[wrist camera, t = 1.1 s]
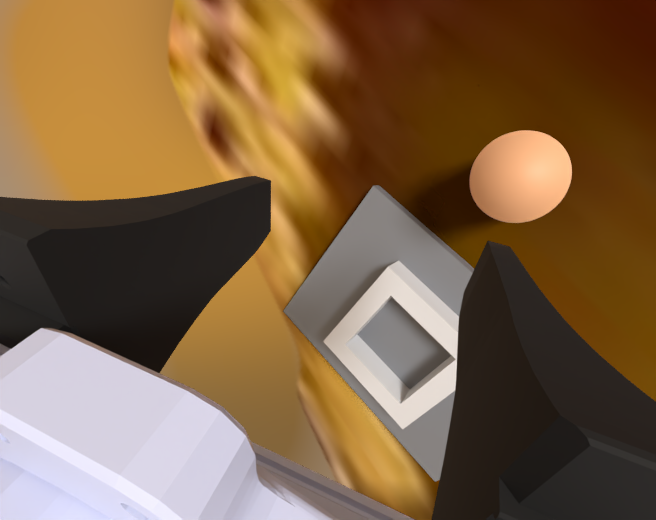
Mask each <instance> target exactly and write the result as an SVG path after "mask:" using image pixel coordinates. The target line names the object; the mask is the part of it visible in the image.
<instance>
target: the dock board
mask: <svg viewBox="0 0 656 520" xmlns="http://www.w3.org/2000/svg"><path fill="white" fill-rule="evenodd" d="M473 271H474V268H473V267H472V266H470V265H469V264H468V263H467V262H466V261H465V260H464V259H462V258H461V257H460V256H459V255H458V254H457V253H456V252H454V251H453V250H452V249H451V248H450V247H449V246H448V245H446V244H445V243H444V242H443V241H442V240H441V239H440V238H438V237H437V236H436V235H435V234H434V233H433V232H432V231H430V230H429V229H428V228H427V227H426V226H425V225H424V224H422V223H421V222H420V221H419V220H418V219H417V218H416V217H414V216H413V215H412V214H411V213H410V212H409V211H408V210H406V209H405V208H404V207H403V206H402V205H401V204H400V203H398V202H397V201H396V200H395V199H394V198H393V197H392V196H390V195H389V194H388V193H387V192H386V191H385V190H384V189H382V188H381V187H380V186H373V187H372V188H371V190H370V191H369V192H368V194H367V195H366V197H365V198H364V199H363V201H362V202H361V204H360V205H359V206H358V208H357V209H356V211H355V212H354V213H353V215H352V216H351V217H350V219H349V220H348V222H347V223H346V224H345V226H344V227H343V229H342V230H341V231H340V233H339V234H338V236H337V237H336V238H335V240H334V241H333V242H332V244H331V245H330V247H329V248H328V249H327V251H326V252H325V254H324V255H323V256H322V258H321V259H320V261H319V262H318V263H317V265H316V266H315V268H314V269H313V270H312V272H311V273H310V274H309V276H308V277H307V279H306V280H305V281H304V283H303V284H302V286H301V287H300V288H299V290H298V291H297V293H296V294H295V295H294V297H293V298H292V300H291V301H290V302H289V304H288V305H287V306H286V308H285V309H284V311H283V312H284V313H285V314H286V315H287V316H288V317H289V318H290V319H291V321H292V322H293V323H294V324H295V325H296V326H297V327H298V328H299V330H300V331H301V332H302V333H303V334H304V335H305V336H306V337H307V339H308V340H309V341H310V342H311V343H312V344H313V345H314V346H315V348H316V349H317V350H318V351H319V352H320V353H321V354H322V355H323V357H324V358H325V359H326V360H327V361H328V362H329V363H330V364H331V365H332V367H333V368H334V369H335V370H336V371H337V372H338V373H339V374H340V376H341V377H342V378H343V379H344V380H345V381H346V382H347V383H348V385H349V386H350V387H351V388H352V389H353V390H354V391H355V392H356V394H357V395H358V396H359V397H360V398H361V399H362V400H363V401H364V402H365V404H366V405H367V406H368V407H369V408H370V409H371V410H372V411H373V413H374V414H375V415H376V416H377V417H378V418H379V419H380V420H381V422H382V423H383V424H384V425H385V426H386V427H387V428H388V429H389V431H390V432H391V433H392V434H393V435H394V436H395V437H396V438H397V440H398V441H399V442H400V443H401V444H402V445H403V446H404V447H405V448H406V450H407V451H408V452H409V453H410V454H411V455H412V456H413V457H414V459H415V460H416V461H417V462H418V463H419V464H420V465H421V466H422V468H423V469H424V470H425V471H426V472H427V473H428V474H429V475H430V477H431V478H432V479H433V480H434V481H435V482H436V481H438V480H439V479H440V476H441V471H442V466H443V461H444V455H445V450H446V444H447V438H448V433H449V427H450V421H451V415H452V409H453V402H454V396H455V387H456V371H457V346H458V325H459V315H460V309H461V304H462V299H463V294H464V291H465V288H466V286H467V284H468V282H469V280H470V278H471V276H472V274H473Z"/></svg>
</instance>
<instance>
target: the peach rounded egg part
mask: <svg viewBox="0 0 656 520" xmlns="http://www.w3.org/2000/svg"><path fill="white" fill-rule="evenodd" d="M571 177H572V166H571V161H570V158H569V156H568V153H567V152H566V150H565V149H564V147H563V146H562V145H561V144H560V143H559V142H558V141H557V140H555V139H554V138H552V137H551V136H549V135H547V134H544V133H541V132H537V131H515V132H511V133H508V134H505V135H503V136H501V137H499V138H497V139H495V140H494V141H492V142H491V143H489V144H488V145H487V146H486V147H485V148H484V149H483V150H482V151H481V152H480V154H479V155H478V156H477V158H476V160H475V161H474V164H473V166H472V169H471V173H470V190H471V194H472V197H473V199H474V201H475V203H476V204H477V206H478V207H479V208H480V209H481V210H482V211H483V212H484V213H486V214H487V215H488V216H490V217H492V218H494V219H497V220H499V221H503V222H510V223H520V222H527V221H531V220H534V219H537V218H539V217H541V216H543V215H545V214H547V213H548V212H550V211H551V210H552V209H553V208H555V207H556V206H557V205H558V204H559V203H560V201H561V200H562V199H563V197H564V196H565V194H566V192H567V191H568V188H569V185H570V182H571Z"/></svg>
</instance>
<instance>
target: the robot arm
mask: <svg viewBox="0 0 656 520" xmlns="http://www.w3.org/2000/svg"><path fill="white" fill-rule="evenodd" d="M270 231H271V180H267V179H264V178H260V177H256V176H251V177H244V178H239V179H234V180H229V181H225V182H221V183H216V184H212V185H208V186H204V187H200V188H194V189H189V190H184V191H180V192H175V193H170V194H163V195H157V196H149V197H140V198H131V199H114V200H98V201H59V200H57V201H56V200H36V199H21V198H7V197H0V520H415V519H413V518H411V517H409V516H407V515H405V514H403V513H400V512H398V511H396V510H394V509H392V508H390V507H388V506H386V505H384V504H382V503H379V502H377V501H375V500H373V499H371V498H369V497H367V496H365V495H363V494H360V493H358V492H356V491H354V490H352V489H350V488H348V487H346V486H344V485H342V484H339V483H337V482H335V481H333V480H331V479H329V478H327V477H325V476H323V475H321V474H318V473H316V472H314V471H312V470H310V469H308V468H306V467H304V466H301V465H299V464H297V463H295V462H293V461H291V460H289V459H287V458H285V457H283V456H281V455H278V454H276V453H274V452H272V451H270V450H268V449H266V448H264V447H262V446H259V445H257V444H255V443H253V442H251V441H250V439H249V437H248V435H247V432H246V430H245V428H244V427H243V426H241V424H240V423H239V422H238V421H236V420H235V418H234V417H233V416H231V415H230V414H229V413H228V412H227V411H226V410H225V409H224V408H223V407H222V406H221V405H219V404H217V403H216V402H214V401H212V400H211V399H209V398H207V397H206V396H204V395H202V394H201V393H199V392H198V391H196V390H194V389H192V388H190V387H188V386H186V385H184V384H181V383H179V382H177V381H175V380H173V379H170V378H168V377H166V376H164V375H161V374H159V373H160V371H161V370H162V368H163V367H164V365H165V363H166V362H167V360H168V359H169V357H170V356H171V354H172V353H173V351H174V350H175V348H176V347H177V345H178V343H179V342H180V341H181V339H182V338H183V337H184V335H185V334H186V332H187V331H188V329H189V328H190V327H191V325H192V324H193V322H194V321H195V320H196V318H197V317H198V316H199V314H200V313H201V312H202V310H203V309H204V308H205V307H206V305H207V304H208V303H209V301H210V300H211V299H212V298H213V297H214V295H215V294H216V293H217V292H218V291H219V290H220V289H221V288H222V287H223V286H224V285H225V284H226V283H227V282H228V281H229V280H230V278H232V276H233V275H234V274H235V273H236V272H237V271H238V270H239V269H240V268H241V267H242V266H243V265H244V264H245V263H246V262H247V261H248V260H249V259H250V258H251V257H252V256H253V254H254V253H255V252H256V251H257V250H258V248H259V247H260V246H261V244H262V243H263V241H264V240H265V238H266V237H267V235H268V234H269V232H270ZM432 520H656V402H655V401H654V400H653V399H651V398H650V397H649V396H647V395H646V394H645V393H644V392H642V391H641V390H640V389H639V388H637V387H636V386H635V385H634V384H632V383H631V382H630V381H629V380H627V379H626V378H625V377H624V376H623V375H622V374H620V373H619V372H618V371H617V370H616V369H615V368H614V367H612V366H611V365H610V364H609V363H608V362H607V361H605V360H604V359H603V358H602V357H601V356H600V355H599V354H598V353H597V352H596V351H595V350H593V349H592V348H591V347H590V346H589V345H588V344H587V343H586V342H585V341H584V340H583V339H582V338H581V337H580V336H579V335H578V334H577V333H576V332H575V331H574V330H573V329H572V328H571V326H570V325H569V324H568V323H567V322H566V321H565V320H564V319H563V318H562V316H561V315H560V314H559V313H558V312H557V310H556V309H555V308H554V307H553V306H552V304H551V303H550V302H549V301H548V300H547V298H546V297H545V296H544V294H543V293H542V292H541V290H540V289H539V288H538V286H537V285H536V284H535V282H534V281H533V279H532V278H531V277H530V275H529V274H528V272H527V271H526V269H525V268H524V266H523V265H522V264H521V262H520V261H519V259H518V258H517V256H516V255H515V253H514V252H513V250H512V249H511V248H510V247H509V246H505V245H501V244H498V243H494V242H491V241H488V242H487V244H486V246H485V248H484V250H483V252H482V254H481V256H480V259H479V261H478V263H477V265H476V267H475V269H474V271H473V274H472V276H471V278H470V280H469V282H468V284H467V286H466V288H465V291H464V294H463V299H462V304H461V309H460V315H459V325H458V346H457V371H456V387H455V396H454V402H453V409H452V415H451V421H450V427H449V433H448V438H447V444H446V450H445V455H444V461H443V466H442V471H441V476H440V481H439V486H438V492H437V497H436V501H435V506H434V511H433V515H432Z"/></svg>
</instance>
